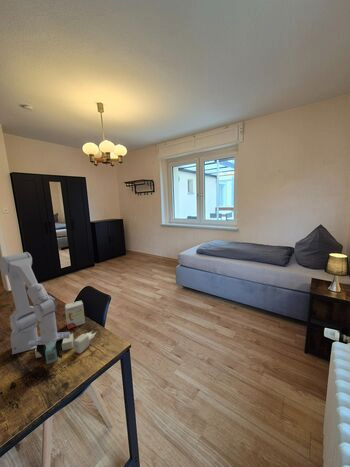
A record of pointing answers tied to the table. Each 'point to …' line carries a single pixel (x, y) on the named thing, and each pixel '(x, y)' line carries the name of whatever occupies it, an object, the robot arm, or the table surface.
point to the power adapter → (83, 342)
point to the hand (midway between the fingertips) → (52, 357)
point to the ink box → (74, 314)
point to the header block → (65, 345)
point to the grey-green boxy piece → (51, 353)
